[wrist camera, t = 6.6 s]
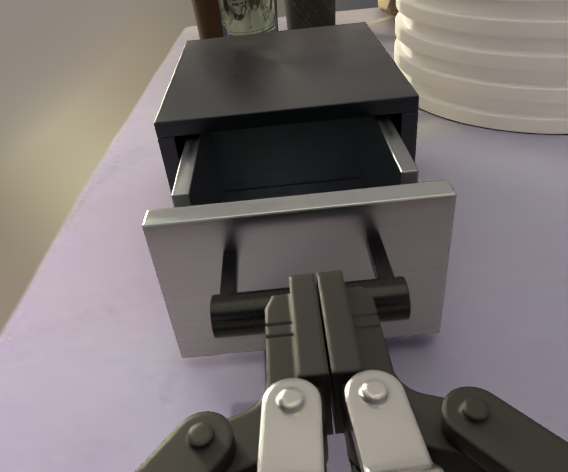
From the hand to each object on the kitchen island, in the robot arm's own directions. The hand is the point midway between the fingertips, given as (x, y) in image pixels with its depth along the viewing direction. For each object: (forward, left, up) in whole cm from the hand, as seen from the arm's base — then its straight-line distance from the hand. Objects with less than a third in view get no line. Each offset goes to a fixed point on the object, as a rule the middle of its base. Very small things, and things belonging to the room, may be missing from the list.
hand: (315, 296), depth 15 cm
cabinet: (+17, +14, -10) cm, 24 cm away
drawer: (+9, +7, -9) cm, 15 cm away
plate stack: (+48, +6, -10) cm, 50 cm away
